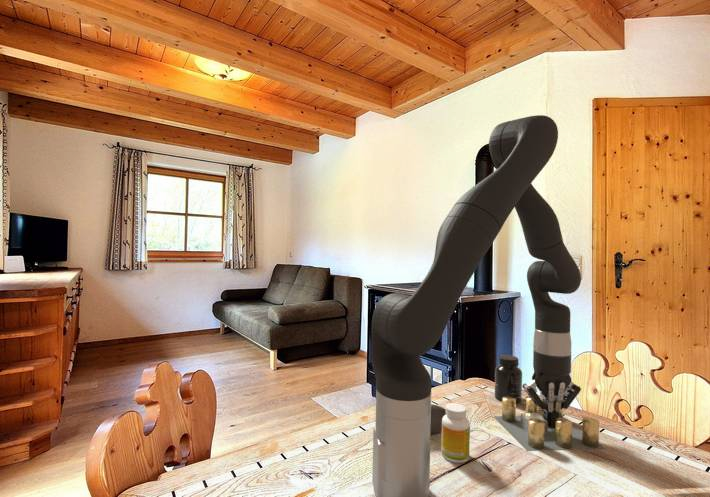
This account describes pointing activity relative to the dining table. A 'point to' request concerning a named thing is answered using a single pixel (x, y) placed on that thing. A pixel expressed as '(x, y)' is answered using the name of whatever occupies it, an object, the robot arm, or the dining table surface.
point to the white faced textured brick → (525, 421)
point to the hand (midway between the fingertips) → (550, 426)
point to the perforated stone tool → (436, 418)
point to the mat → (548, 439)
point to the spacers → (562, 426)
